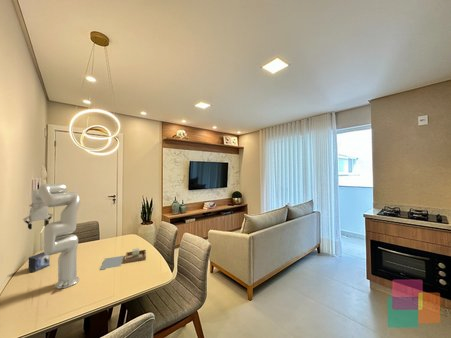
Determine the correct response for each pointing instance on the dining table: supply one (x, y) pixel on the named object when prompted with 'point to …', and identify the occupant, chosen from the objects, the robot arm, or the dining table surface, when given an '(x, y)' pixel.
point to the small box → (38, 262)
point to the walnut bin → (129, 258)
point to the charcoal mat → (112, 262)
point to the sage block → (135, 253)
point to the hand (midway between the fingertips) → (38, 227)
